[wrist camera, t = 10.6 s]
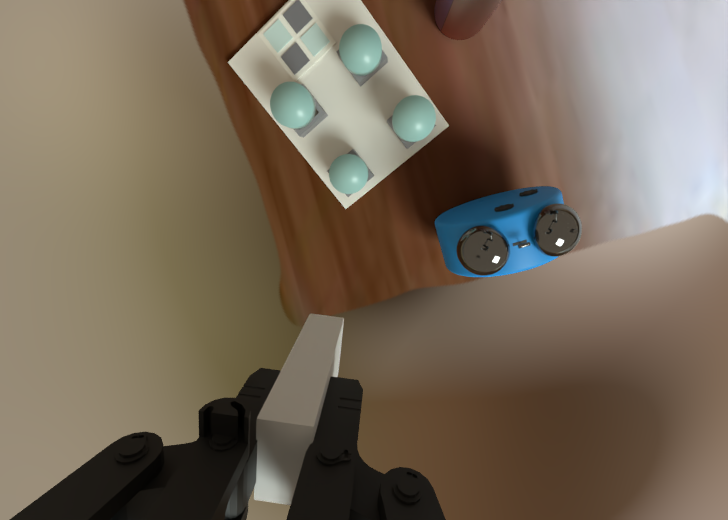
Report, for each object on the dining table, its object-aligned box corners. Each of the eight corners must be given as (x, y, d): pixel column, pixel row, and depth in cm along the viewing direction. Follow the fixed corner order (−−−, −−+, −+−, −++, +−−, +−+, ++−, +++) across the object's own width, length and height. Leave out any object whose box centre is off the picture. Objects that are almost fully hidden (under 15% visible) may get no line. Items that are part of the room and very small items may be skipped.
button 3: (415, 92, 39) (418, 85, 35) (439, 125, 40) (444, 122, 36) (384, 119, 40) (383, 115, 36) (407, 151, 41) (409, 150, 37)
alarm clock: (439, 255, 47) (461, 297, 33) (427, 211, 46) (445, 234, 32) (539, 227, 46) (609, 257, 31) (530, 180, 44) (599, 189, 30)
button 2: (301, 80, 40) (292, 71, 36) (327, 113, 40) (320, 108, 37) (273, 107, 41) (261, 101, 37) (298, 138, 41) (289, 136, 38)
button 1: (365, 27, 40) (363, 13, 36) (390, 61, 40) (390, 51, 37) (335, 56, 41) (330, 45, 37) (360, 88, 41) (357, 81, 38)
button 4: (354, 146, 43) (350, 145, 39) (376, 176, 44) (375, 177, 40) (326, 170, 44) (321, 171, 40) (349, 198, 45) (345, 201, 41)
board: (331, -39, 39) (327, -55, 36) (448, 126, 43) (452, 124, 40) (230, 64, 43) (219, 57, 40) (346, 208, 47) (343, 211, 44)
